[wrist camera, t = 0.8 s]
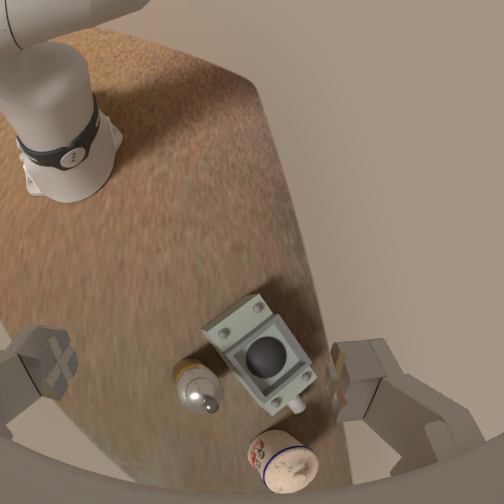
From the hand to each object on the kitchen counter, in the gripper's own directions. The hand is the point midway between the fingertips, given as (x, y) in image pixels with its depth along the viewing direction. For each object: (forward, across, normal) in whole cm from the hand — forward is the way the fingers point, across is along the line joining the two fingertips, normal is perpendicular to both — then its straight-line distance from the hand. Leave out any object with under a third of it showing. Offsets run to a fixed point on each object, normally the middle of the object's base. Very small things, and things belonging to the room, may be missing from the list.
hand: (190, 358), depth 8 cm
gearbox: (+29, -4, +28) cm, 41 cm away
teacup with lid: (+20, -6, +44) cm, 48 cm away
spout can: (+26, +7, +28) cm, 38 cm away
